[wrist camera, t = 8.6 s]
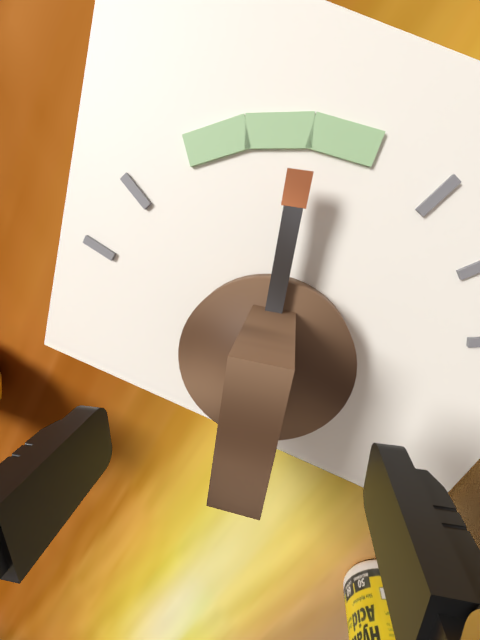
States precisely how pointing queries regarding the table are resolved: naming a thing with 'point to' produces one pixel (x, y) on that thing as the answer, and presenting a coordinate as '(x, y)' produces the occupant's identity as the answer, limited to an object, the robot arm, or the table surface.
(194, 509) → the table surface
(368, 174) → the dial board
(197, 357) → the knob
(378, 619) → the supplement bottle
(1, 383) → the duckling
